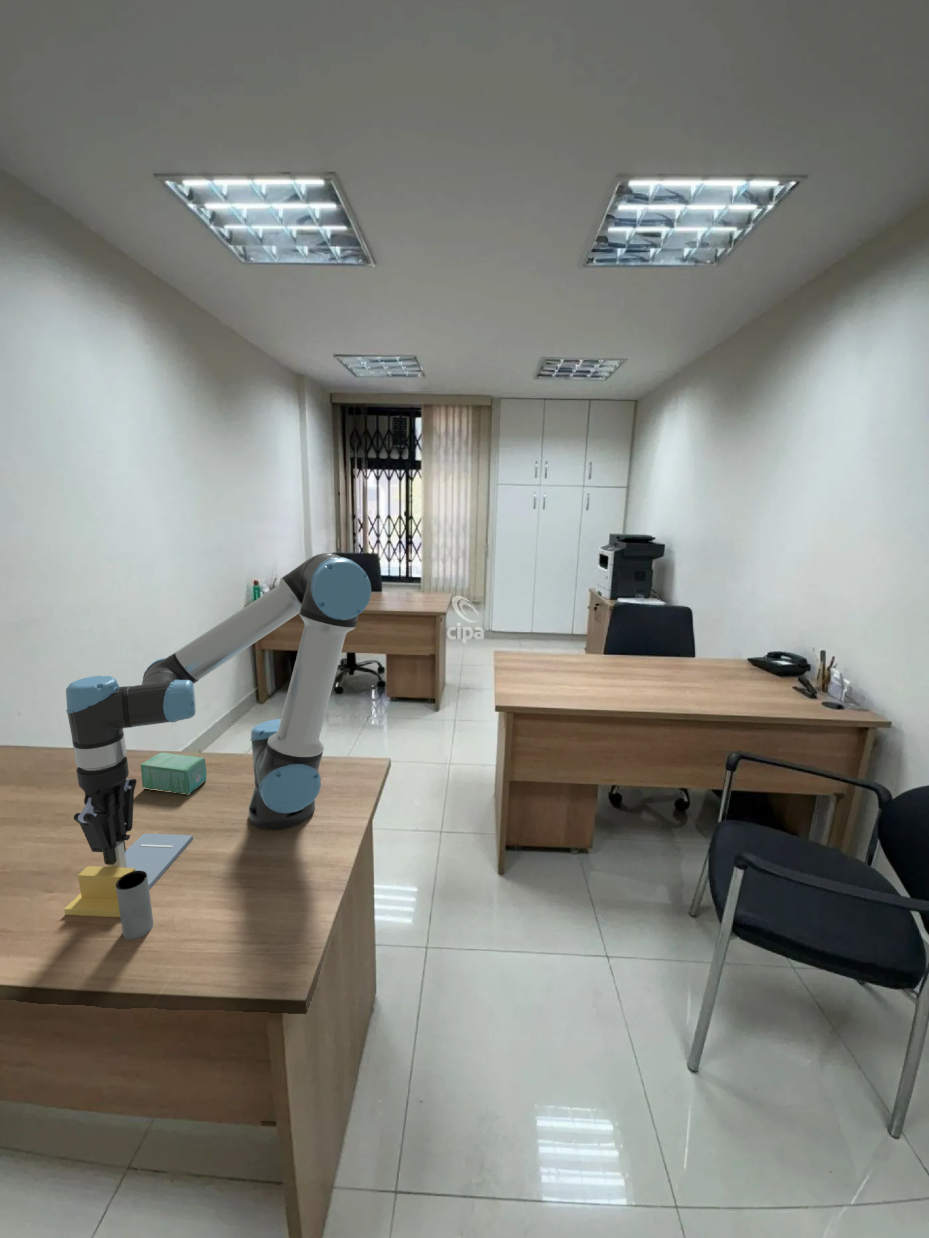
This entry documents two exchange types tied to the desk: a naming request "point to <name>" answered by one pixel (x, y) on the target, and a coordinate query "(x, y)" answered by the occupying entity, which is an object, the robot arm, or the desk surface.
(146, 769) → the box
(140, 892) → the gray cylinder
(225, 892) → the desk surface
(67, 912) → the yellow stepped block
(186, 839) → the ticket
